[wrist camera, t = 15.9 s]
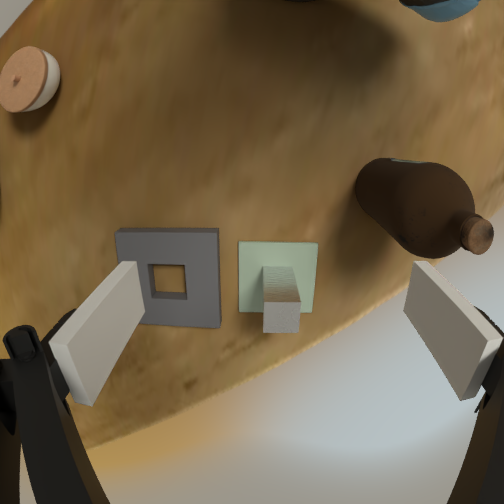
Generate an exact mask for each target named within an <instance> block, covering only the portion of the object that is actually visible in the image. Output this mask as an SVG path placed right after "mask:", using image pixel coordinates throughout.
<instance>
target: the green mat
mask: <svg viewBox="0 0 504 504" xmlns="http://www.w3.org/2000/svg"><path fill="white" fill-rule="evenodd" d="M317 253H318V243H315V242H262V241H239V312H263V296H262V289H263V266H292V267H293V271H294V275H295V279H296V283H297V287H298V291H299V296H300V300H301V309H300V313H312V305H313V296H314V286H315V276H316V265H317Z"/></svg>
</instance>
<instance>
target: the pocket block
mask: <svg viewBox="0 0 504 504" xmlns="http://www.w3.org/2000/svg"><path fill="white" fill-rule="evenodd" d="M115 241H116V249H117V256H118V263H119V264H120V263H121V262H122V261H136V262H137V268H138V275H139V281H140V287H141V292H142V298H143V303H144V309H145V313H144V315H143V316H142V318H141V320H140V321H139V323H142V324H155V325H170V326H186V327H207V328H220V326H221V321H222V317H221V290H220V256H219V228H120V229H119V230H117V231H116V232H115ZM153 264H175V265H185V276H186V289H187V293H180V292H157V291H156V289H155V280H154V272H153Z"/></svg>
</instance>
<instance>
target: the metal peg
mask: <svg viewBox="0 0 504 504" xmlns="http://www.w3.org/2000/svg"><path fill="white" fill-rule="evenodd" d="M262 296H263V333H298V330H299V320H300V309H301V300H300V296H299V291H298V287H297V283H296V279H295V275H294V271H293V267H292V266H263V289H262Z"/></svg>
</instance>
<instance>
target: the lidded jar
mask: <svg viewBox="0 0 504 504" xmlns="http://www.w3.org/2000/svg"><path fill="white" fill-rule="evenodd" d="M59 82H60V68H59V65H58V62H57V61H56V59H55V58H54V57H53V56H52V55H50V54H49V53H47V52H45V51H43V50H41V49H39V48H36V47H32V46H28V47H24V48H22V49H20V50H18V51H17V52H15V53H14V54H13V55H12V56H11V57H10V58H9V60H8V61H7V62H6V64H5V66H4V68H3V70H2V72H1V75H0V103H1V105H2V107H3V108H4V109H5V110H7V111H9V112H13V113H17V112H26V111H32V110H35V109H38V108H40V107H42V106H43V105H45V104H46V103H47V102H48V101H49V100H50V99H51V98H52V97H53V95H54V94H55V92H56V90H57V88H58V86H59Z"/></svg>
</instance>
